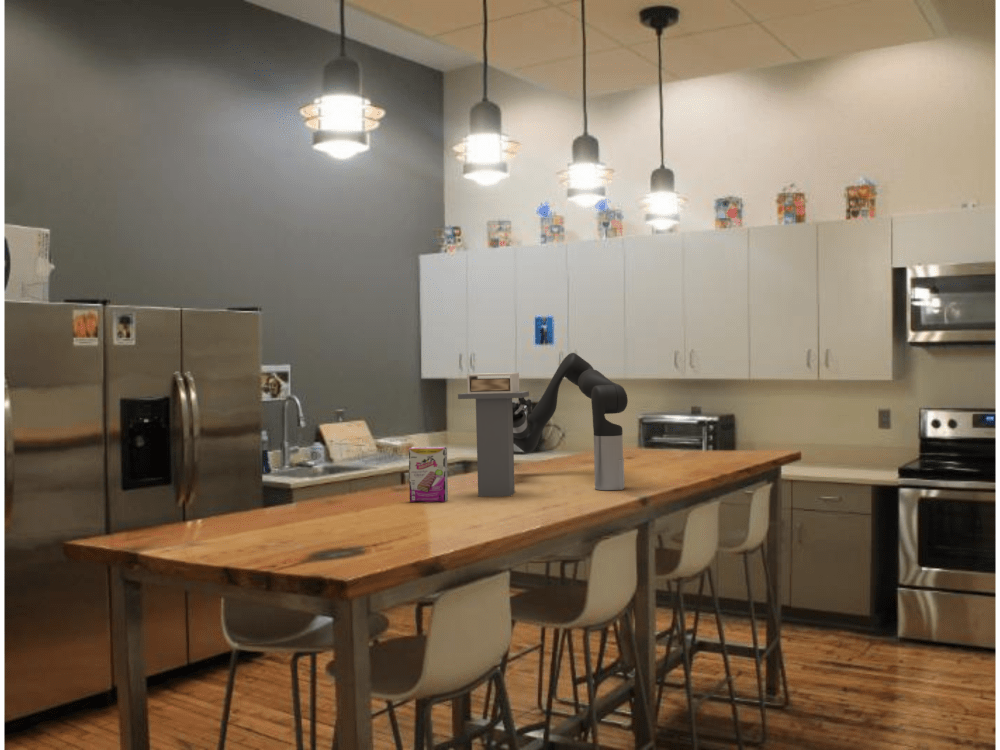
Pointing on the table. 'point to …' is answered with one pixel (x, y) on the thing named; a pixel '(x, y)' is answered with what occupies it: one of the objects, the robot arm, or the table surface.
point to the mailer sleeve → (513, 388)
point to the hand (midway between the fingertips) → (507, 396)
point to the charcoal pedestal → (495, 442)
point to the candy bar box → (428, 474)
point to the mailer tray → (490, 384)
